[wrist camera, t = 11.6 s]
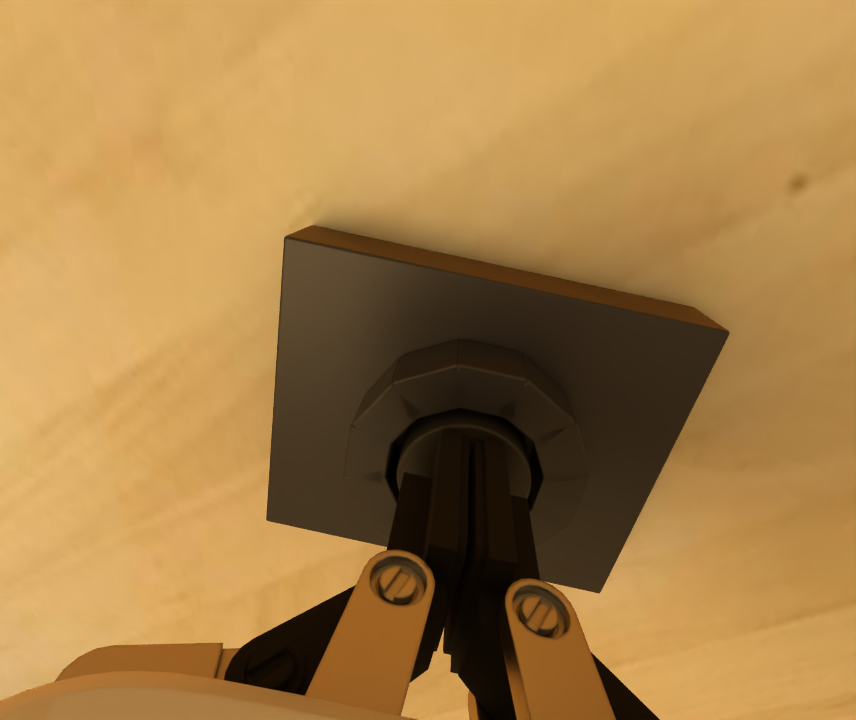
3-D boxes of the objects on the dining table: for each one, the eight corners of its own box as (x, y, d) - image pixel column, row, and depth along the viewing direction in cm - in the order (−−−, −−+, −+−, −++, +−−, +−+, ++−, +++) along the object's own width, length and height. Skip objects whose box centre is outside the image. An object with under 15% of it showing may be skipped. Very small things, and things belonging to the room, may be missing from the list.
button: (540, 407, 13) (549, 442, 12) (507, 504, 15) (511, 546, 13) (416, 380, 13) (408, 411, 12) (396, 480, 15) (386, 519, 13)
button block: (695, 307, 14) (772, 359, 10) (586, 546, 18) (614, 644, 14) (310, 224, 14) (253, 247, 10) (288, 481, 18) (241, 562, 15)
